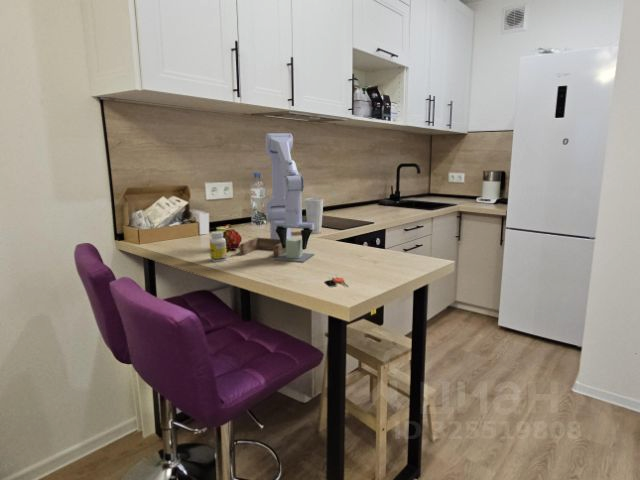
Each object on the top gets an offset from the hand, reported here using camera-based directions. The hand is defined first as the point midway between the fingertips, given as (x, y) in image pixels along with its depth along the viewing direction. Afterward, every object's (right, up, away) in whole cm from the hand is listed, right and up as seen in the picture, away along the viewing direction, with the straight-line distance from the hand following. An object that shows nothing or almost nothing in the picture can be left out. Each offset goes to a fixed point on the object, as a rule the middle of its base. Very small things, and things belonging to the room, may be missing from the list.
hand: (294, 248), depth 147 cm
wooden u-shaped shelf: (-11, -2, +8) cm, 14 cm away
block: (0, -3, +1) cm, 3 cm away
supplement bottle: (-26, -4, -2) cm, 27 cm away
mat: (0, -3, +1) cm, 3 cm away
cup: (+7, +6, +46) cm, 47 cm away
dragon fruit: (-26, -1, +15) cm, 30 cm away
